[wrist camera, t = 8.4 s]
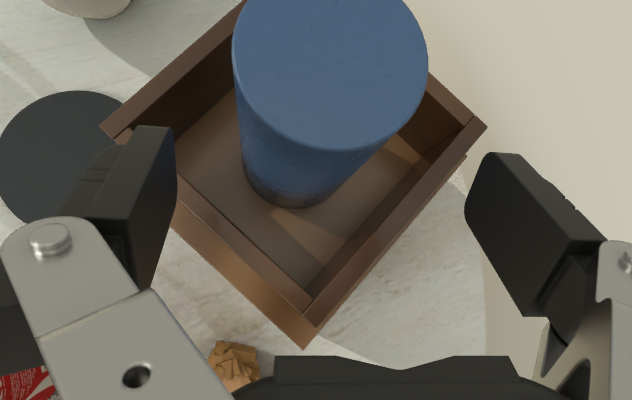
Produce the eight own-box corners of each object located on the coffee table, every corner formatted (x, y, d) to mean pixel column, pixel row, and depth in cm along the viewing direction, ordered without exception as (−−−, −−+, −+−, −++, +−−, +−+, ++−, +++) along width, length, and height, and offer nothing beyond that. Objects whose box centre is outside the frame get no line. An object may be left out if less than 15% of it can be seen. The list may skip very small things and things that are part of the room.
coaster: (-39, 163, 33) (-43, 161, 32) (82, 65, 35) (80, 62, 35) (73, 267, 33) (70, 267, 32) (186, 161, 35) (185, 159, 35)
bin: (159, 203, 35) (50, 125, 16) (275, 91, 38) (297, -83, 19) (283, 319, 34) (318, 375, 16) (390, 197, 38) (523, 126, 19)
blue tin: (219, 158, 22) (186, 48, 11) (292, 87, 23) (326, -73, 12) (298, 231, 22) (342, 193, 11) (367, 156, 23) (467, 57, 12)
